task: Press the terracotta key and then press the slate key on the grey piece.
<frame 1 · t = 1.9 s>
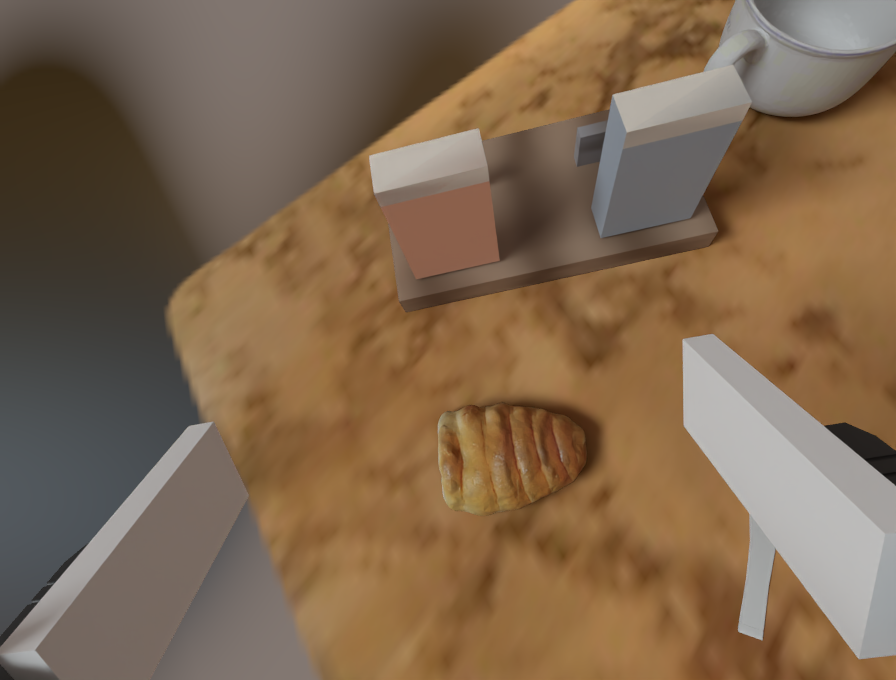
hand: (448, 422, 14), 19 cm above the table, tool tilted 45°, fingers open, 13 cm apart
terracotta key: (442, 215, 30), point 7 cm above the table, slide at 0.0 cm
grey piece: (534, 211, 38), on the table
pastry: (500, 455, 33), on the table
teacup: (759, 93, 38), on the table
slate key: (656, 164, 29), point 7 cm above the table, slide at 0.0 cm
butter knife: (746, 647, 27), on the table
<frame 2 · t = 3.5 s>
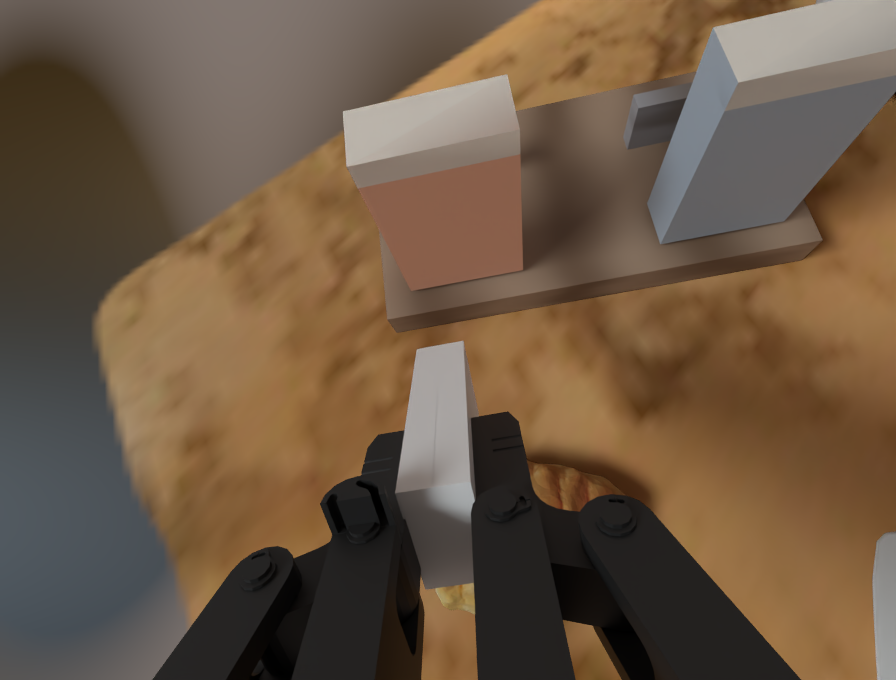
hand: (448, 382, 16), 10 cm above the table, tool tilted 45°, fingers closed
terracotta key: (449, 205, 22), point 7 cm above the table, slide at 0.0 cm
grey piece: (567, 206, 29), on the table
pastry: (514, 526, 24), on the table
slate key: (755, 142, 21), point 7 cm above the table, slide at 0.0 cm
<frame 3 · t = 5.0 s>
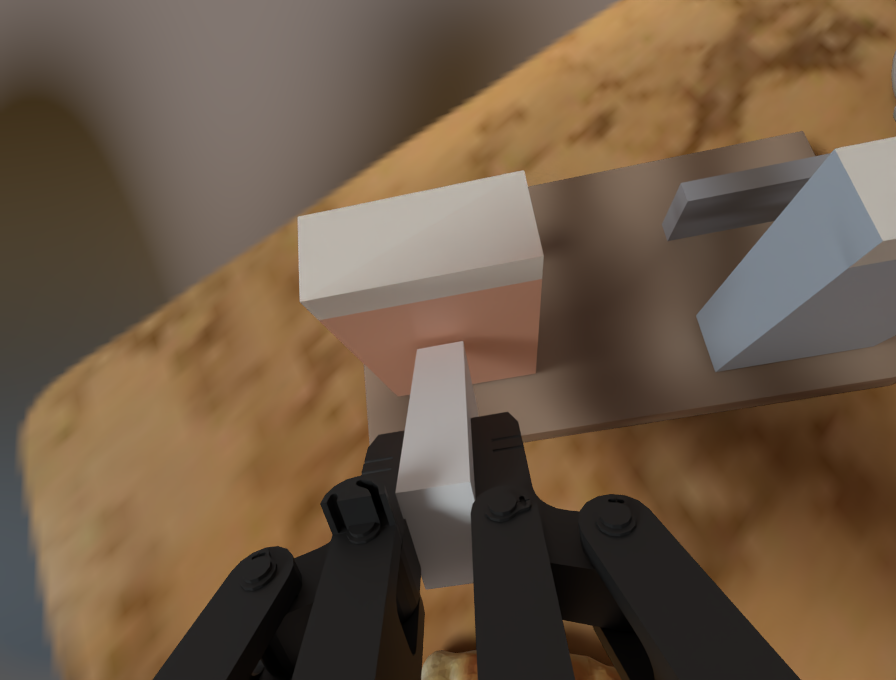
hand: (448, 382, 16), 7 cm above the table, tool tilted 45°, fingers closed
terracotta key: (444, 313, 17), point 7 cm above the table, slide at 1.2 cm, touching gripper
grey piece: (592, 304, 24), on the table
slate key: (859, 272, 15), point 7 cm above the table, slide at 0.0 cm
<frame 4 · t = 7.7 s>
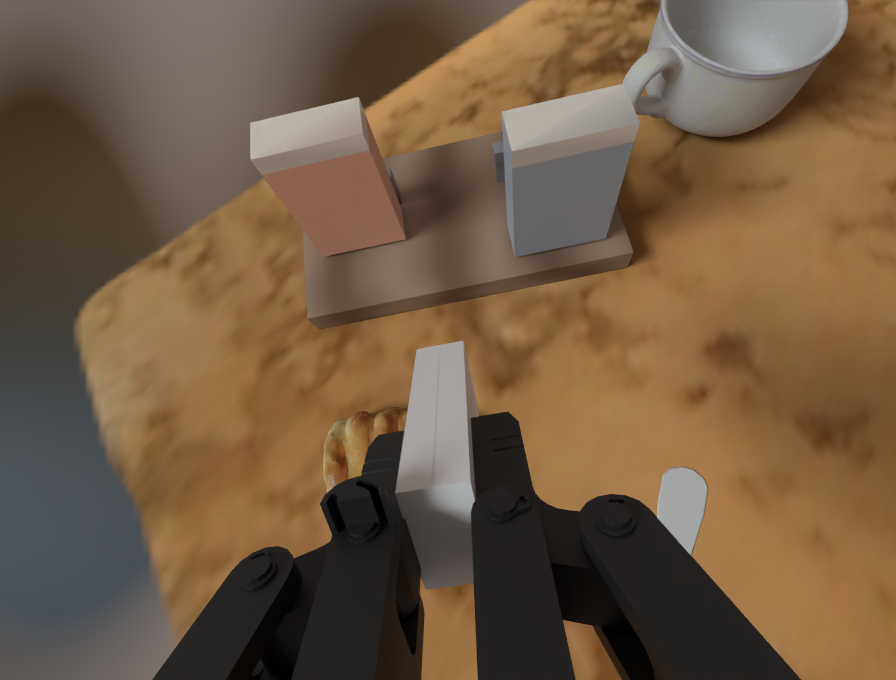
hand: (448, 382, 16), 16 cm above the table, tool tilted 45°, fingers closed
terracotta key: (338, 188, 30), point 7 cm above the table, slide at 3.1 cm
grey piece: (455, 227, 37), on the table
pastry: (397, 461, 32), on the table
teacup: (687, 111, 38), on the table
slate key: (561, 184, 28), point 7 cm above the table, slide at 0.0 cm
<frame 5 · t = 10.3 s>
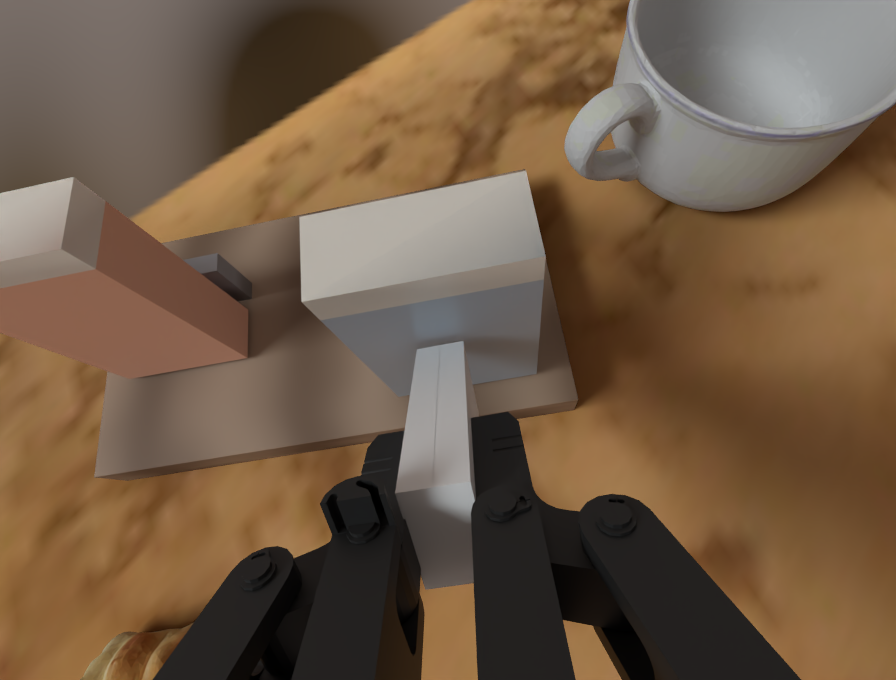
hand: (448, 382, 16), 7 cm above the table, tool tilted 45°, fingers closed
terracotta key: (108, 301, 19), point 7 cm above the table, slide at 3.1 cm
grey piece: (335, 330, 26), on the table
teacup: (674, 166, 26), on the table
slate key: (445, 313, 17), point 7 cm above the table, slide at 0.1 cm, touching gripper
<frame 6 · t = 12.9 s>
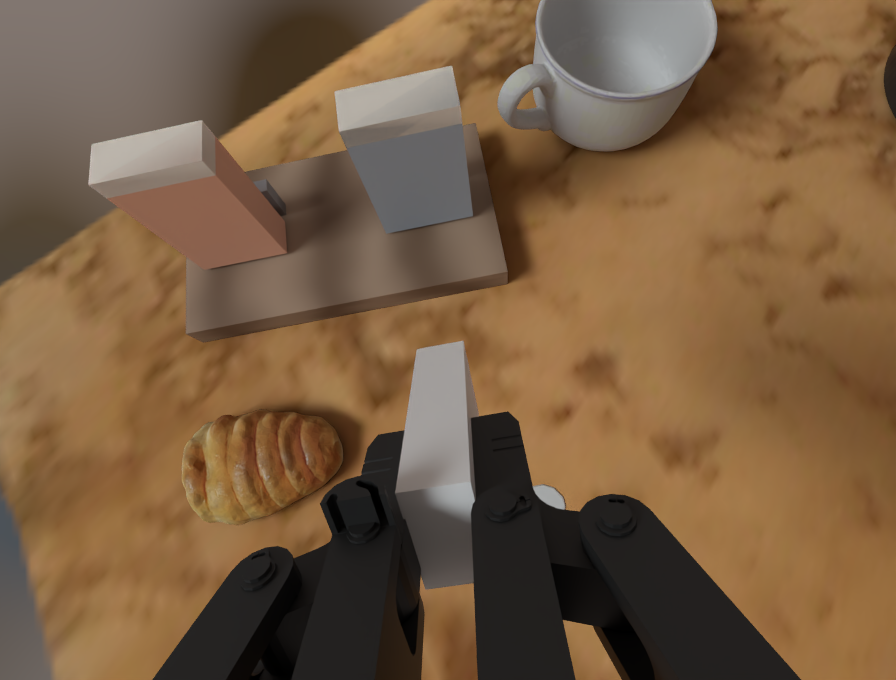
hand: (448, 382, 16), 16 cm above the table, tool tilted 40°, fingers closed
terracotta key: (203, 206, 30), point 7 cm above the table, slide at 3.1 cm
grey piece: (344, 238, 36), on the table
pastry: (268, 461, 33), on the table
teacup: (581, 122, 37), on the table
slate key: (413, 162, 29), point 7 cm above the table, slide at 3.1 cm
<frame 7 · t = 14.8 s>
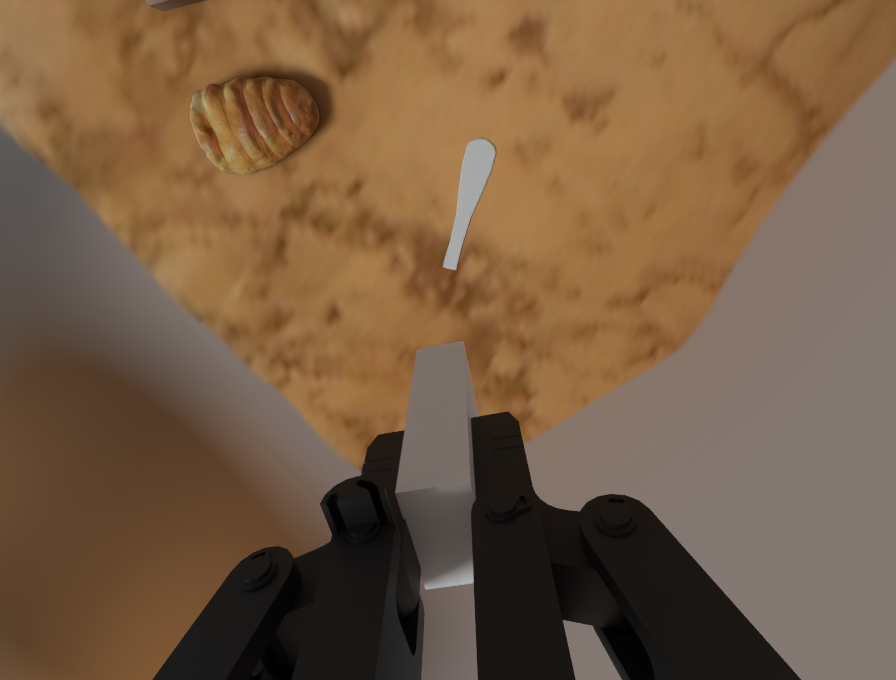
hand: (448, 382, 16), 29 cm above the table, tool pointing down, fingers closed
pastry: (257, 121, 40), on the table
butter knife: (448, 274, 45), on the table
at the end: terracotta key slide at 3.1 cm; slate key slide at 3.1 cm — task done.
